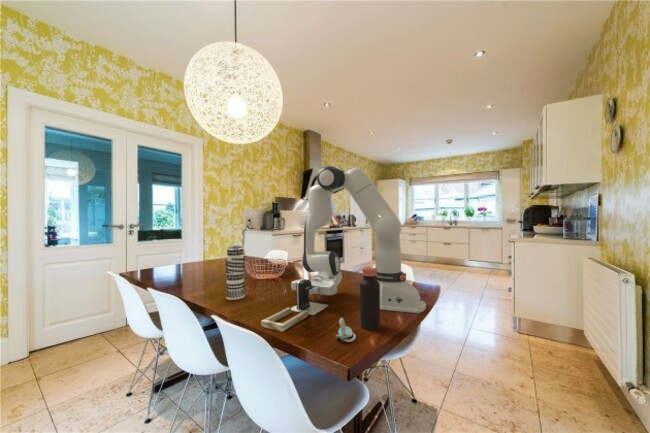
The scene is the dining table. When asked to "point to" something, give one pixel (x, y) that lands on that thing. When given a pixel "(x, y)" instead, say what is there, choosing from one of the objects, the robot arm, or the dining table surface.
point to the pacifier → (345, 332)
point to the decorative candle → (235, 272)
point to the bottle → (369, 300)
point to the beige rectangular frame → (287, 324)
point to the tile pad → (311, 308)
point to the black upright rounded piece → (303, 294)
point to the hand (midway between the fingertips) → (303, 291)
